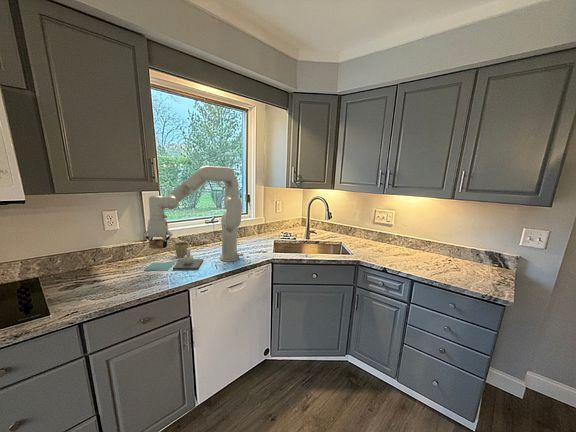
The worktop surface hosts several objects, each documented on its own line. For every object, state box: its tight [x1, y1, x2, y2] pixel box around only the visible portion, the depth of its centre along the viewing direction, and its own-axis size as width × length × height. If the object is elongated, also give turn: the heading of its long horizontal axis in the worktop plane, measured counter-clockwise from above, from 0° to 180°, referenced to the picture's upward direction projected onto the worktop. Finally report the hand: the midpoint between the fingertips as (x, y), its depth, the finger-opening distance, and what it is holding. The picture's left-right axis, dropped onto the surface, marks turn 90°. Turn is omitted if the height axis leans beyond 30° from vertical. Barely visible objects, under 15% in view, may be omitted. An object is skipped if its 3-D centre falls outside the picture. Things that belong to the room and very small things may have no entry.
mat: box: [143, 261, 176, 272], centre depth 143 cm, size 13×12×1 cm
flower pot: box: [173, 241, 189, 259], centre depth 162 cm, size 9×9×9 cm
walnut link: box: [149, 238, 165, 250], centre depth 141 cm, size 7×7×4 cm
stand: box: [172, 248, 204, 271], centre depth 146 cm, size 14×14×11 cm
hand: (158, 247), depth 141 cm, fingers closed on walnut link, 6 cm apart
